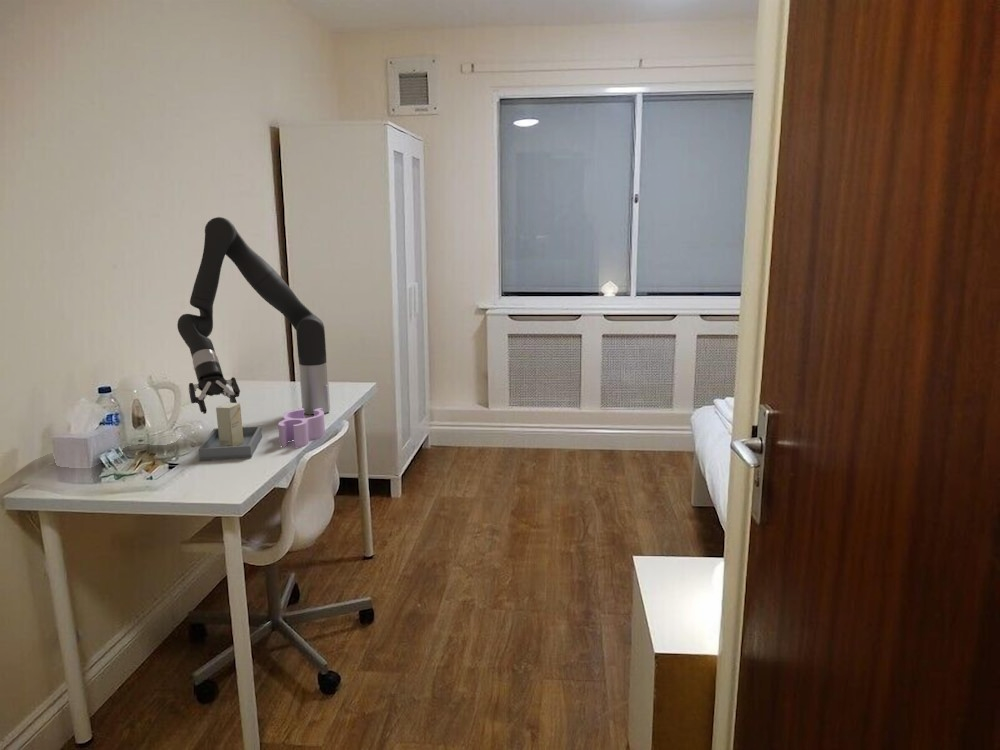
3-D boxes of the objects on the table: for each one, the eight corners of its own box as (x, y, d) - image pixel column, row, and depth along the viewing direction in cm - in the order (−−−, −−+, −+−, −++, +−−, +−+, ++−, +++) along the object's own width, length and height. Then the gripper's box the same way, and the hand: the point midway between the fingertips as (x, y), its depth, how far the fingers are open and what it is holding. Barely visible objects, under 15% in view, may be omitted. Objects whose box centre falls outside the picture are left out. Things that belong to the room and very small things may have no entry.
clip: (310, 448, 213) (309, 426, 211) (269, 447, 214) (267, 425, 212) (331, 428, 232) (330, 408, 231) (293, 428, 233) (292, 407, 232)
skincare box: (232, 448, 210) (229, 408, 207) (219, 447, 211) (215, 407, 208) (244, 441, 216) (240, 402, 213) (231, 441, 217) (227, 402, 214)
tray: (262, 436, 224) (261, 426, 223) (251, 457, 205) (250, 446, 204) (215, 439, 222) (213, 428, 221) (199, 461, 203) (198, 449, 202)
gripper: (183, 363, 221) (196, 407, 214) (231, 357, 229) (245, 399, 222) (182, 376, 226) (194, 420, 220) (229, 370, 234) (242, 412, 227)
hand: (219, 410), depth 221 cm, fingers open, 8 cm apart
